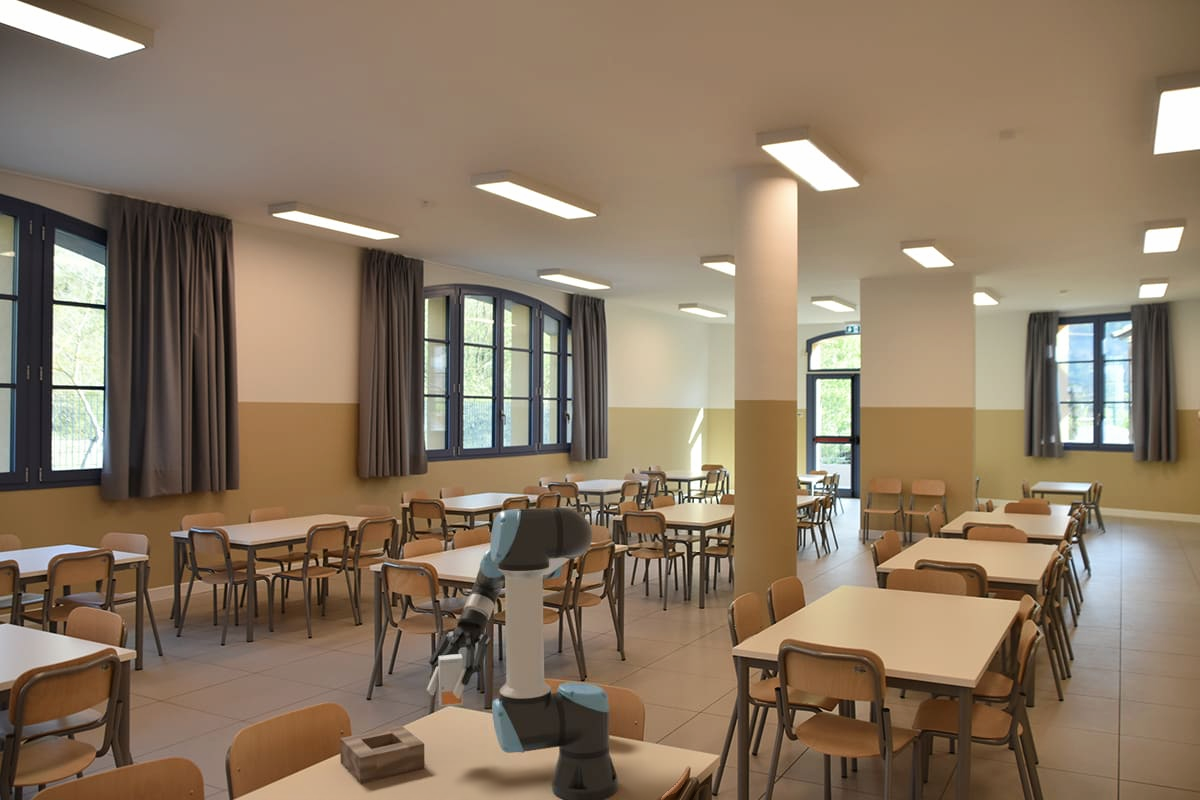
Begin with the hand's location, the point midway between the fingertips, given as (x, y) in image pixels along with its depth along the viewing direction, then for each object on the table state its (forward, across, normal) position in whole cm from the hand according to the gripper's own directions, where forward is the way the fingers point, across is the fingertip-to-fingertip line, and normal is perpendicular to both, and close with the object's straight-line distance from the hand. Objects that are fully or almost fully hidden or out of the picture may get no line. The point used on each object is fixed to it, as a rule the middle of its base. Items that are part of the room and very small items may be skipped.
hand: (443, 693), depth 215 cm
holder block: (+17, +13, -6) cm, 23 cm away
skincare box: (0, 0, -5) cm, 5 cm away
